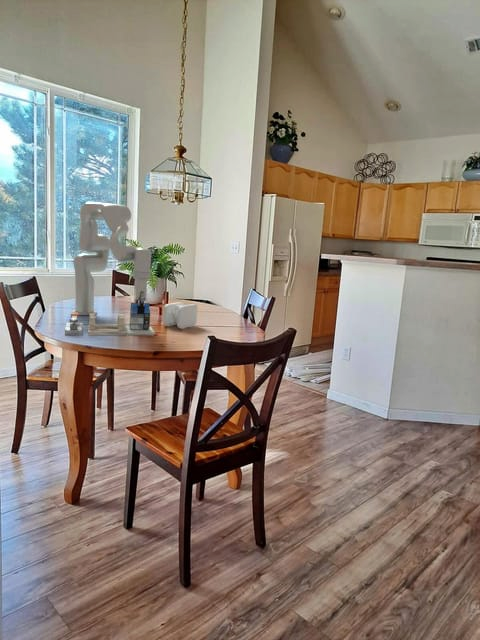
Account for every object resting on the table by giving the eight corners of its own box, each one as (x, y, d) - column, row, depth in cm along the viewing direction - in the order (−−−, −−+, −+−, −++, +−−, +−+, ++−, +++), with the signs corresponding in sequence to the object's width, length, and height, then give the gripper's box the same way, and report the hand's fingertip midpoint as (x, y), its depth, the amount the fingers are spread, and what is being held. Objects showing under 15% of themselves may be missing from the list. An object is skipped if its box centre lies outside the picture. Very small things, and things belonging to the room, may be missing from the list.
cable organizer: (178, 330, 220) (179, 307, 217) (161, 326, 225) (162, 303, 223) (196, 326, 232) (198, 304, 230) (180, 322, 237) (181, 301, 235)
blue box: (130, 330, 208) (130, 304, 206) (129, 328, 212) (130, 302, 210) (149, 330, 211) (150, 304, 209) (148, 328, 215) (149, 303, 212)
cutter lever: (71, 320, 210) (71, 312, 209) (78, 320, 211) (78, 312, 210) (69, 327, 196) (69, 318, 195) (77, 327, 197) (77, 318, 196)
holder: (88, 326, 212) (88, 312, 210) (123, 327, 217) (123, 312, 215) (88, 335, 197) (88, 319, 195) (125, 335, 202) (126, 319, 201)
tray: (125, 327, 216) (125, 326, 216) (150, 327, 220) (150, 326, 220) (127, 334, 203) (127, 332, 203) (154, 334, 207) (154, 333, 207)
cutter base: (66, 326, 208) (66, 318, 207) (82, 327, 210) (82, 318, 210) (64, 334, 194) (64, 325, 193) (82, 334, 196) (82, 325, 196)
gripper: (131, 272, 213) (129, 307, 217) (135, 277, 197) (133, 315, 201) (147, 273, 216) (145, 308, 219) (152, 278, 200) (150, 316, 203)
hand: (139, 311), depth 210 cm, fingers open, 9 cm apart
